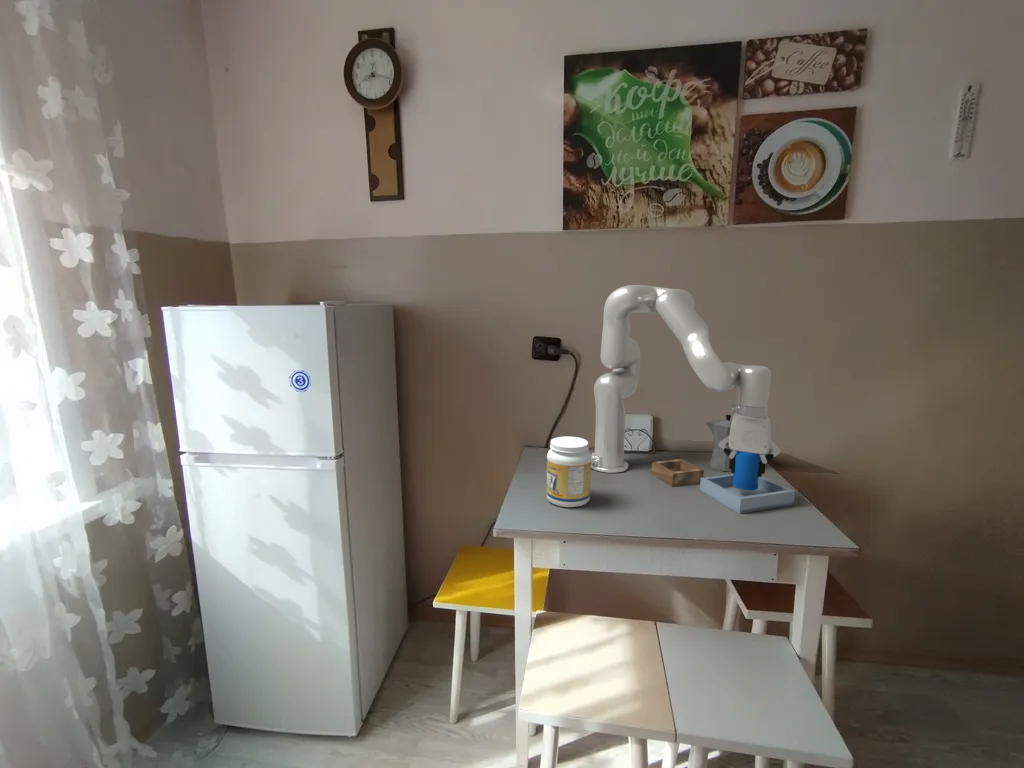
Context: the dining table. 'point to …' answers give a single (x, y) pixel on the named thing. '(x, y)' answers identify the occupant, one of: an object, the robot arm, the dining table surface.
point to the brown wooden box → (677, 472)
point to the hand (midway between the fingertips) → (746, 473)
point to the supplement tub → (568, 472)
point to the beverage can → (746, 471)
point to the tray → (747, 494)
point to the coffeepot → (719, 432)
